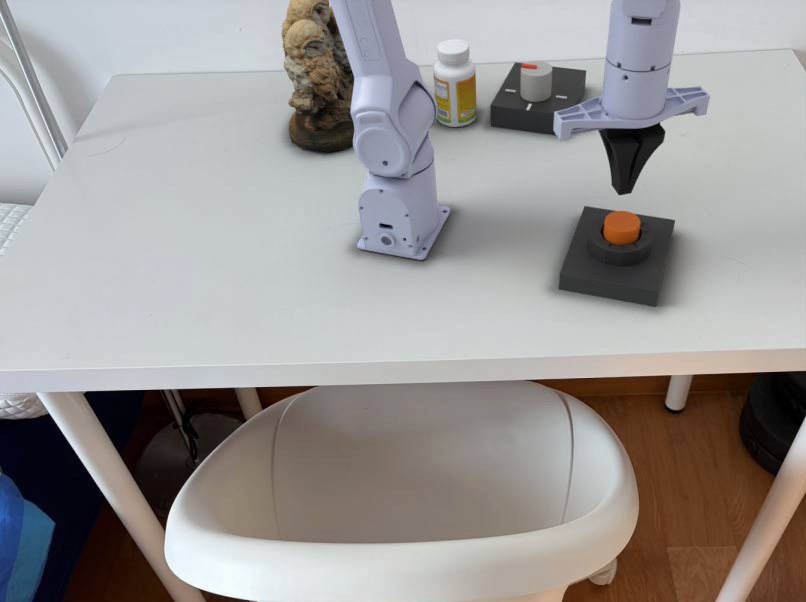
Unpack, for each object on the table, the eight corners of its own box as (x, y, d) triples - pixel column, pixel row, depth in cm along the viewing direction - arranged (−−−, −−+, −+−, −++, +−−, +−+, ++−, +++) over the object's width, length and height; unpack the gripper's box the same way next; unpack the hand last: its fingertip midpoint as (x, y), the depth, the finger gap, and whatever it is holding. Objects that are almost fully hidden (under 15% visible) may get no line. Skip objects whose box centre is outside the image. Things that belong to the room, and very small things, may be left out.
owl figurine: (351, 165, 99) (328, 28, 86) (268, 151, 102) (234, 17, 89) (404, 95, 110) (391, -35, 97) (328, 84, 113) (305, -43, 100)
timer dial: (554, 88, 103) (555, 60, 101) (546, 103, 101) (548, 75, 98) (525, 84, 104) (525, 57, 102) (516, 99, 102) (517, 71, 99)
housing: (655, 307, 80) (661, 277, 77) (558, 289, 82) (560, 259, 79) (672, 236, 87) (678, 205, 84) (583, 221, 89) (585, 191, 86)
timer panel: (564, 136, 101) (566, 114, 99) (490, 126, 104) (489, 104, 101) (584, 91, 109) (586, 69, 106) (514, 82, 111) (515, 60, 109)
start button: (635, 248, 80) (637, 234, 79) (600, 242, 81) (601, 228, 80) (641, 227, 82) (643, 213, 81) (606, 221, 83) (608, 208, 82)
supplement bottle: (478, 107, 107) (476, 36, 100) (475, 128, 103) (472, 56, 96) (439, 106, 107) (434, 36, 100) (434, 127, 104) (428, 56, 97)
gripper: (694, 24, 73) (671, 155, 83) (545, 49, 70) (539, 180, 81) (731, 59, 68) (702, 192, 78) (572, 86, 66) (563, 219, 76)
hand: (621, 188), depth 79 cm, fingers closed
